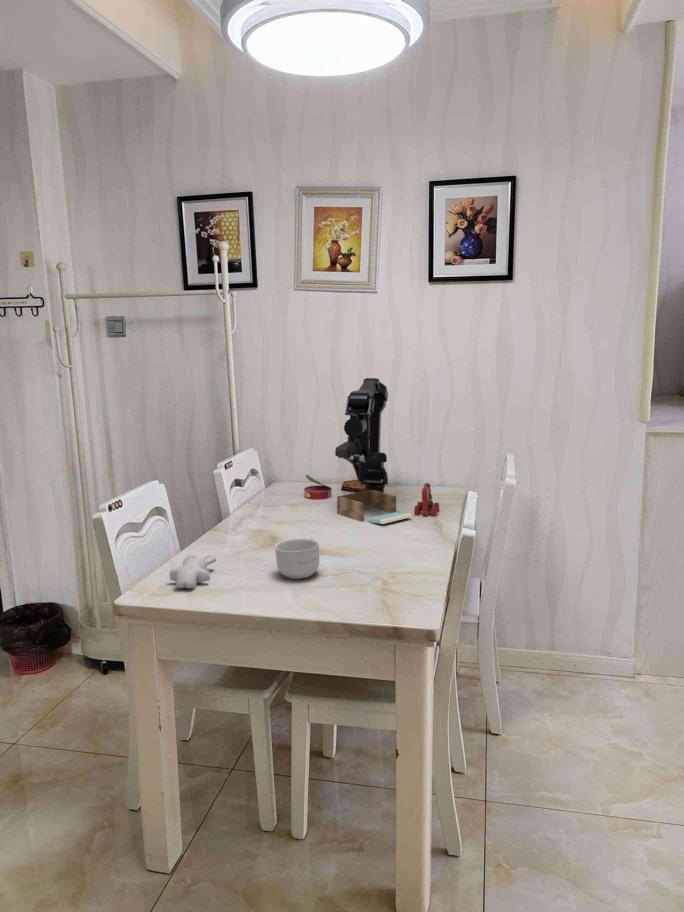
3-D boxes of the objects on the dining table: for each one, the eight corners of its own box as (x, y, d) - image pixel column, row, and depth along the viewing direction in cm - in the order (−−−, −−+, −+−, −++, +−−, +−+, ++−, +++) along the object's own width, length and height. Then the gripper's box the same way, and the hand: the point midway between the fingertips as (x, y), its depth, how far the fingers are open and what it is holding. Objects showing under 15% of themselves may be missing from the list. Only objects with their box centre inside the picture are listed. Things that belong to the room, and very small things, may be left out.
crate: (337, 517, 217) (337, 496, 215) (371, 510, 225) (371, 489, 224) (361, 525, 207) (361, 503, 206) (396, 517, 216) (396, 496, 215)
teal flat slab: (367, 518, 207) (382, 520, 201) (395, 512, 214) (411, 513, 209) (367, 521, 207) (382, 523, 201) (396, 515, 214) (411, 516, 209)
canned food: (307, 506, 249) (306, 480, 252) (334, 504, 247) (333, 478, 250) (300, 499, 238) (299, 472, 241) (328, 497, 236) (327, 469, 239)
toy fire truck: (440, 512, 223) (440, 481, 221) (435, 522, 211) (435, 489, 209) (419, 510, 225) (419, 480, 223) (413, 520, 213) (413, 488, 211)
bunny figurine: (163, 575, 156) (182, 547, 170) (165, 595, 157) (184, 565, 172) (203, 576, 155) (219, 548, 169) (205, 596, 157) (220, 566, 171)
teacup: (302, 586, 159) (302, 553, 158) (266, 577, 165) (265, 545, 163) (334, 568, 171) (334, 537, 169) (299, 561, 176) (299, 531, 175)
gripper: (321, 431, 213) (322, 480, 216) (360, 438, 198) (360, 490, 201) (349, 428, 220) (349, 475, 222) (388, 435, 205) (387, 485, 208)
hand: (360, 481), depth 213 cm, fingers closed
